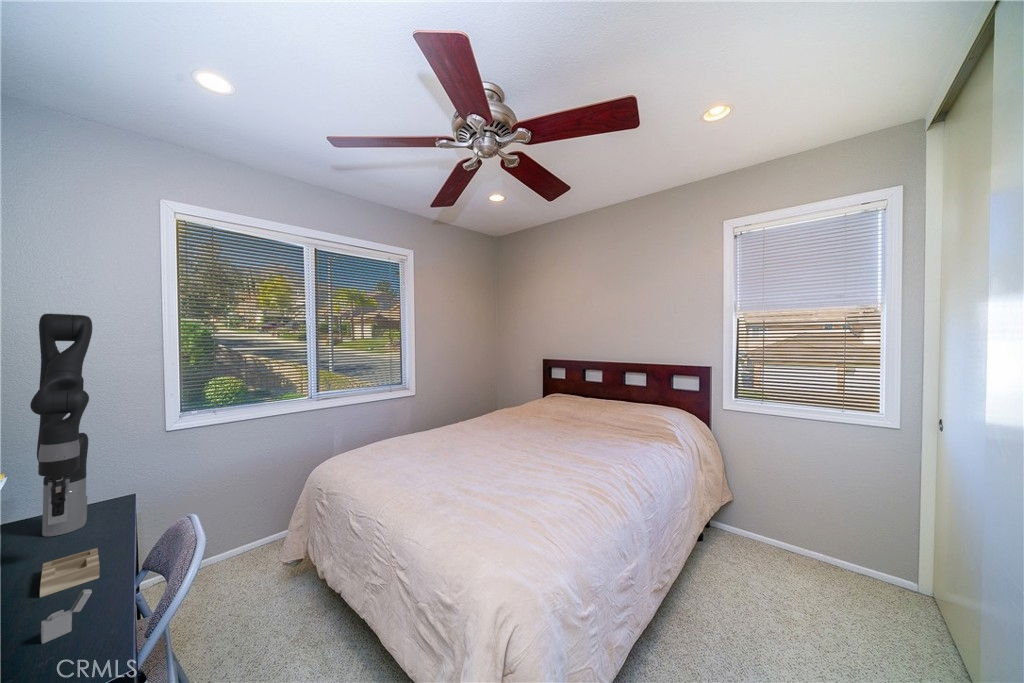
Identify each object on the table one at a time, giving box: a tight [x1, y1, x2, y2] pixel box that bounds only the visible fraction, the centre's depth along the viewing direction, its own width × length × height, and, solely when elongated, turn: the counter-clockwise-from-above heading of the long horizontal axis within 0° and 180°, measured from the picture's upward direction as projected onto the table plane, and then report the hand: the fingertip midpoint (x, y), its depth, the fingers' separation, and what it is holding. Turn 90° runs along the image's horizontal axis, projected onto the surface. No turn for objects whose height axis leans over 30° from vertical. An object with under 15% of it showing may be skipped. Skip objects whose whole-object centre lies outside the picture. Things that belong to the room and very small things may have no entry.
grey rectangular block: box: [48, 493, 68, 525], centre depth 104 cm, size 4×4×9 cm
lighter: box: [40, 588, 93, 645], centre depth 81 cm, size 7×2×8 cm, turn 149°
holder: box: [39, 547, 100, 598], centre depth 99 cm, size 14×10×3 cm
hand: (58, 512), depth 104 cm, fingers closed on grey rectangular block, 3 cm apart
